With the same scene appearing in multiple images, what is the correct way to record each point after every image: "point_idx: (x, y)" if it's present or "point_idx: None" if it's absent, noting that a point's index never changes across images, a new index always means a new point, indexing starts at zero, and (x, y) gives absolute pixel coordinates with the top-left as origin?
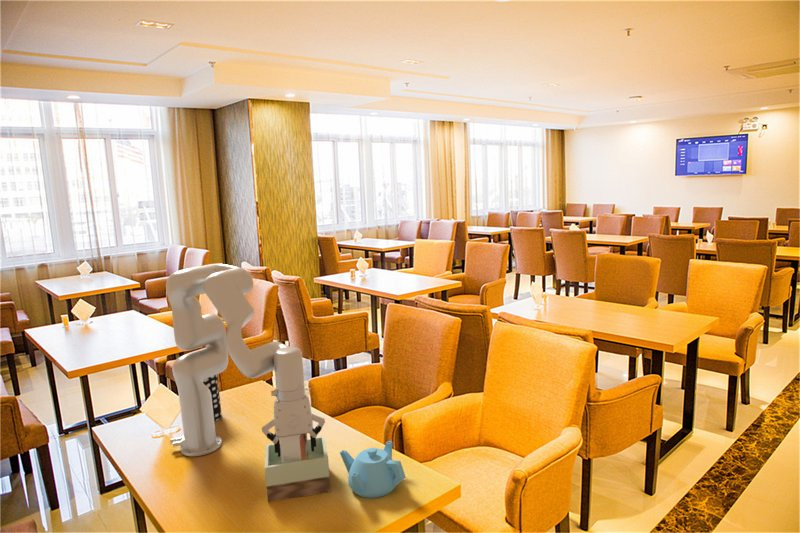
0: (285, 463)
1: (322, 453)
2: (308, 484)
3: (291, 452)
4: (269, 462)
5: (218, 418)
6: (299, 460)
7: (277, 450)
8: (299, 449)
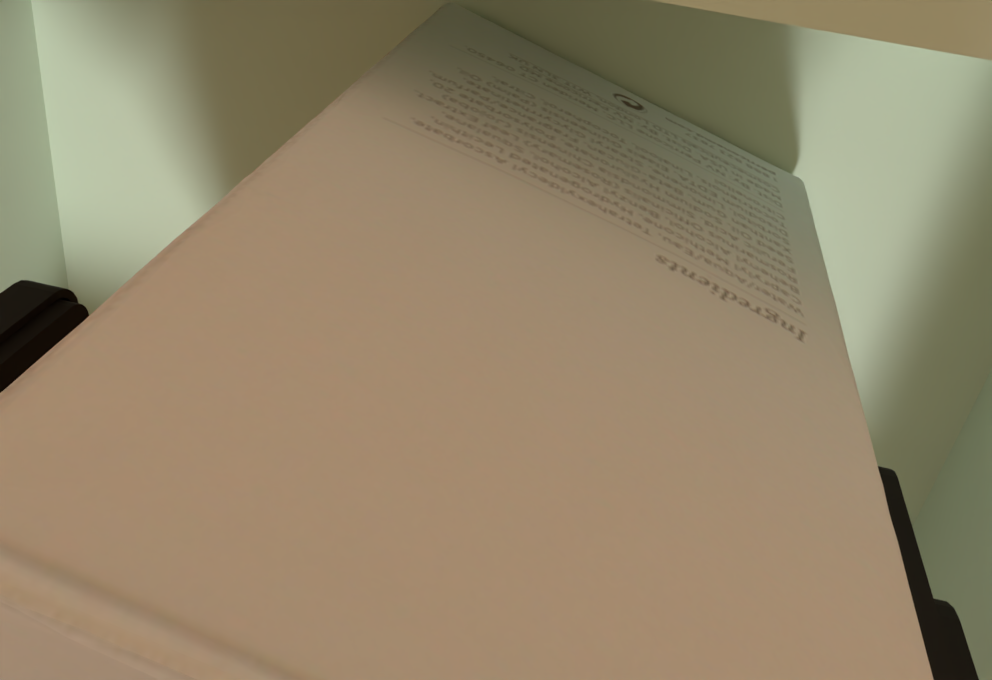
0: (837, 12)
1: None
2: None
3: (557, 281)
4: (935, 560)
5: None
6: (407, 90)
7: (927, 593)
8: (253, 201)
